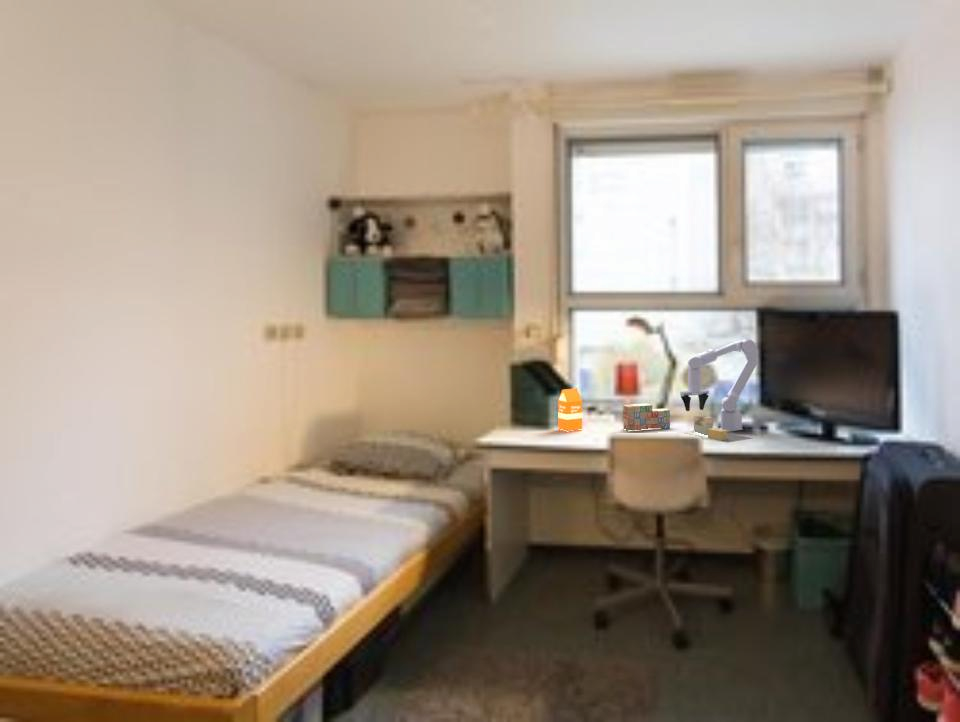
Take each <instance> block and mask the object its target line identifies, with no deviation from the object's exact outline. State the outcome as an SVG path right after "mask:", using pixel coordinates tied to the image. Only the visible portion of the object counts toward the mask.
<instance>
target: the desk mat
mask: <svg viewBox="0 0 960 722" xmlns="http://www.w3.org/2000/svg"><path fill="white" fill-rule="evenodd" d="M708 439H709V440H714V441H719V442H723V443H731V442H739V441H745V440H750V439H754V438H753V437H749V436H744V435H739V434H735V433H730V432H727V439H726V440H717V439H712V438H708Z"/></svg>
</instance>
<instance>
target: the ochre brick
mask: <svg viewBox="0 0 960 722" xmlns="http://www.w3.org/2000/svg"><path fill="white" fill-rule="evenodd" d="M727 433H728V431H727V430H723V429H717V427H713V428H710V429H708V438H707V439H709V438H712V439H711V440H713V439H717V440H716V441H718V440H726V439H727Z"/></svg>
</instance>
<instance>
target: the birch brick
mask: <svg viewBox="0 0 960 722" xmlns="http://www.w3.org/2000/svg"><path fill="white" fill-rule="evenodd" d="M694 425H699V426H704V427H709V426H713V427H714V417H713V416H708V415H701V414H699V415H693V426H694Z"/></svg>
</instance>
